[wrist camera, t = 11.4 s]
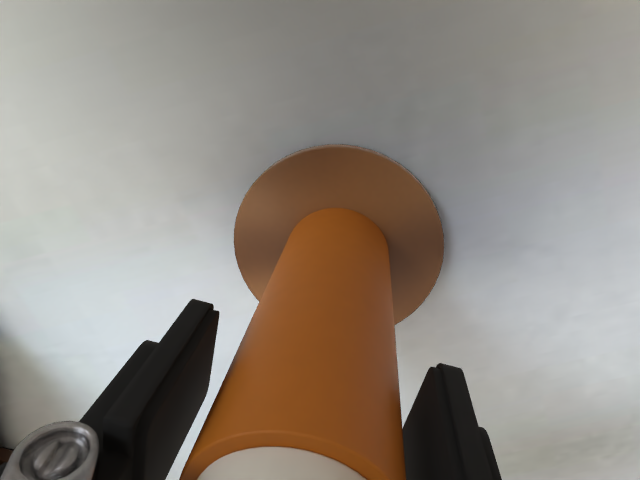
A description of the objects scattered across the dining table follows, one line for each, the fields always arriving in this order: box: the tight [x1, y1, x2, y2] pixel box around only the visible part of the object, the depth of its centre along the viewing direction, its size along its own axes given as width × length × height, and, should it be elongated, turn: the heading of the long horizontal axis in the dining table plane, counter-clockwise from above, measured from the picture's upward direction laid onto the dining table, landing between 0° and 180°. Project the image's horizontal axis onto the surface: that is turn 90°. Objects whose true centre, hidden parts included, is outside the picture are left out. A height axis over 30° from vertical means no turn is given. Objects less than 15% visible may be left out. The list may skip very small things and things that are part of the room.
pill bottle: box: [179, 208, 406, 480], centre depth 12 cm, size 4×4×13 cm
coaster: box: [234, 144, 444, 325], centre depth 18 cm, size 9×9×1 cm
